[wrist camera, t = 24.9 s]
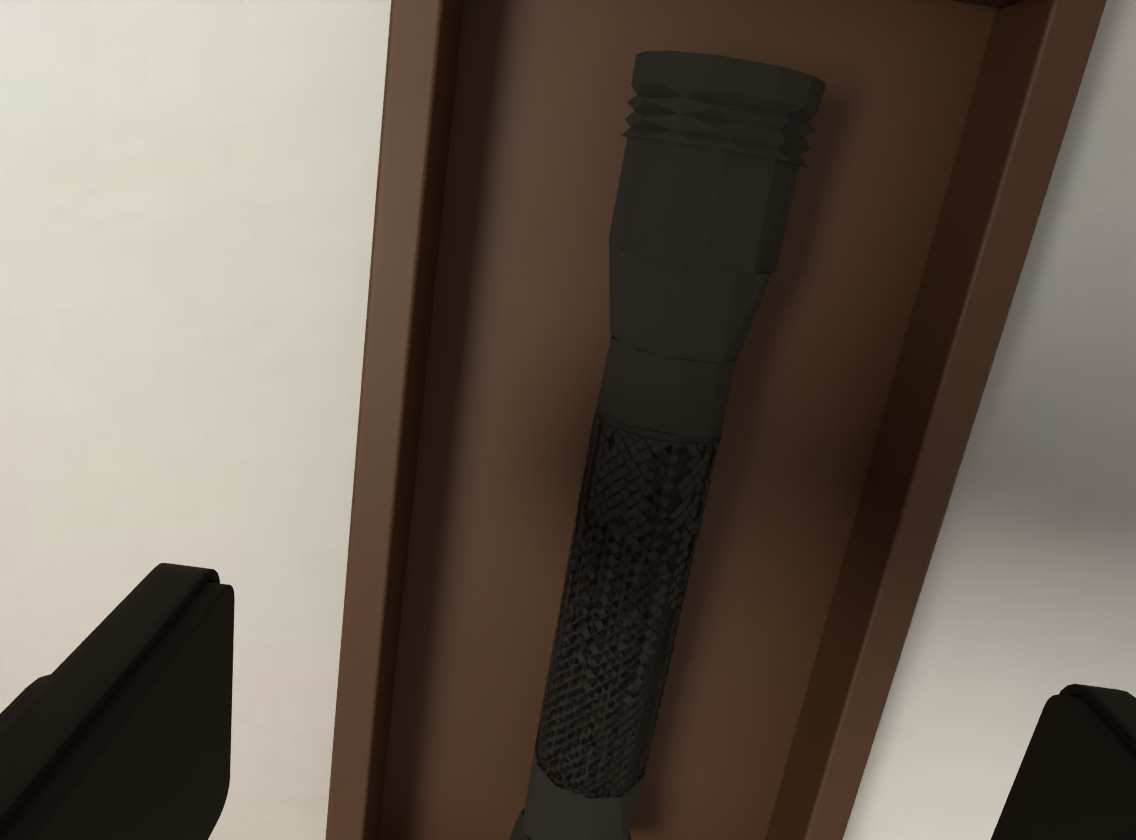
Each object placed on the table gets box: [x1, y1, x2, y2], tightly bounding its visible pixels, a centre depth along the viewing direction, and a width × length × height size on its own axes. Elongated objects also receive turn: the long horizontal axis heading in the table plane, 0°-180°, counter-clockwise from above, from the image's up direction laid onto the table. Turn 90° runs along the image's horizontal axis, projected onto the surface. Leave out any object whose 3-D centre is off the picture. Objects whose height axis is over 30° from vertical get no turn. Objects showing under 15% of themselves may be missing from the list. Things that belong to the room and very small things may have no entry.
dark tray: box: [326, 0, 1107, 840], centre depth 16 cm, size 22×11×3 cm, turn 171°
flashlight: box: [510, 51, 827, 840], centre depth 16 cm, size 3×16×3 cm, turn 171°
